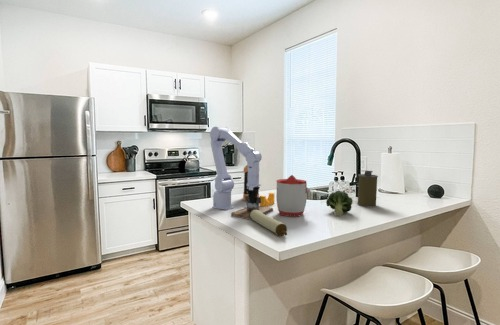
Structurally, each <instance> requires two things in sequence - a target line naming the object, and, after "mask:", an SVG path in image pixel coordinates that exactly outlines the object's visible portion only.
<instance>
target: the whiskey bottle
mask: <svg viewBox="0 0 500 325" xmlns="http://www.w3.org/2000/svg"><path fill="white" fill-rule="evenodd" d="M252 148H253V149H254V151H256V150H255V148H254V147H252ZM243 174H244V175H243V176H244V178H243V181H244V182H243V194H242V201H243V202H246V195H248V192H247V189H249V187H248V186H247V184H248V165H247V164H246V165H245V166H244V167H243ZM257 187H260V186H257ZM257 197H260V192H259V191H258V194H257Z"/></svg>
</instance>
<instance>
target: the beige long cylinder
mask: <svg viewBox="0 0 500 325" xmlns="http://www.w3.org/2000/svg"><path fill="white" fill-rule="evenodd" d="M249 217H250V218H251V219H250V220H253V221H254V222H256V223H258V224H259V225H260V226H263V227H264V228H266V229H267V230H269V231H271V232H272V233H274V234H275V235H277V236H278V237H283V236H288V232H287V231H288V228H287V224H285V223H284V222H281V221H280V220H276V219H274V218H272V217H271V216H269V215H268V214H266V215H265V214H263V213H262V212H261V211H259V210H255V209H253V210H251V211H250V213H249Z"/></svg>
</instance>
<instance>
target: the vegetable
mask: <svg viewBox="0 0 500 325" xmlns="http://www.w3.org/2000/svg"><path fill="white" fill-rule="evenodd" d="M325 203H326V206H327V207H330V209H332V210H334V213H333V214H334V215H335V216H336V217H341V216H343V213H344V214H345V213H348V212H350V211H351V210H352V208H353V207H352V204H353V198H352V197H350V196H349V194H348V193H347V192H345V191H340V190H336V191H335V192H331V193H329V194H328V197H327V199H326V202H325Z"/></svg>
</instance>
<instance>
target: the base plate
mask: <svg viewBox="0 0 500 325" xmlns="http://www.w3.org/2000/svg"><path fill="white" fill-rule="evenodd" d="M259 211H261V212H262V213H263V214H265V215H268V214H269V213H272V212H273V211H274V208H273V207H269V206H267V207H262V206H260V205H259ZM249 213H250V211H247V206H246V207H243V208H240V209H238V210H236V211H233V212H231V217H235V218H241V219H247V220H252V219H251V218H250V217H249Z"/></svg>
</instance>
